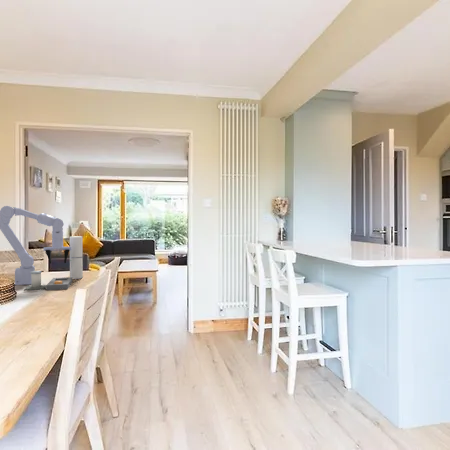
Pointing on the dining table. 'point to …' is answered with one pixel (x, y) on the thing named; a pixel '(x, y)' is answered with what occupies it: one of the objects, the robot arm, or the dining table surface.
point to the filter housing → (65, 284)
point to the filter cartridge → (36, 279)
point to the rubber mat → (35, 288)
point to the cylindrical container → (76, 257)
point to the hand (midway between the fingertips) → (57, 263)
